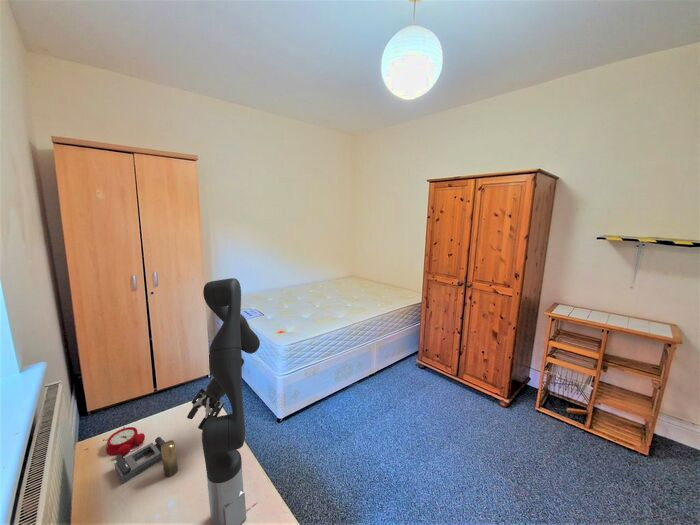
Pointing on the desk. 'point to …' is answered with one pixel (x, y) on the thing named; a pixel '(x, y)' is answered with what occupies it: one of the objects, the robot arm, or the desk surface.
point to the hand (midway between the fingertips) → (194, 423)
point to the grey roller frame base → (128, 465)
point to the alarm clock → (124, 441)
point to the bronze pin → (169, 458)
